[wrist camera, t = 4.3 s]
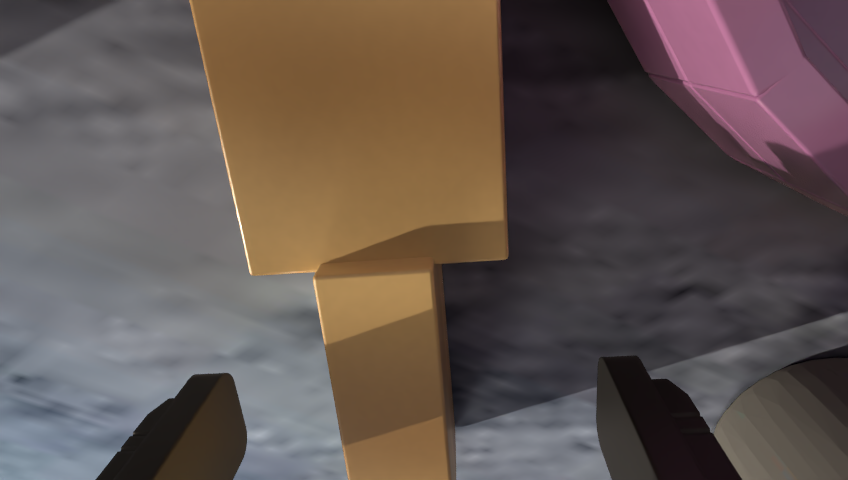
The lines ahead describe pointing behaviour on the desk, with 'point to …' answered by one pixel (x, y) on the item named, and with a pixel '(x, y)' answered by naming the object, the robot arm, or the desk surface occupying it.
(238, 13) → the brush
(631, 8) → the bowl
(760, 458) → the bottle
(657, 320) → the desk surface
